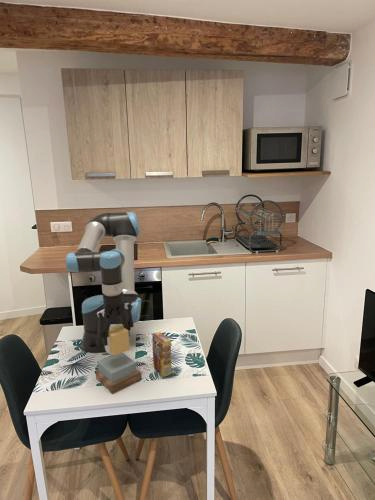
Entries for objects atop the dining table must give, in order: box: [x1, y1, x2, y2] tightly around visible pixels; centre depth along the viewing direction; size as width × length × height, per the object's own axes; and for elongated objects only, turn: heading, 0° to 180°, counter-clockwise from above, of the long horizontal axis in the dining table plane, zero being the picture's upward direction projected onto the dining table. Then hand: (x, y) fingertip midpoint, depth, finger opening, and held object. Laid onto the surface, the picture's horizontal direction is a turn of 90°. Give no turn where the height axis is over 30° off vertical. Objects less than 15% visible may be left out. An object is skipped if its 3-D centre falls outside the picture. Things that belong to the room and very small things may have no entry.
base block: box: [95, 369, 142, 395], centre depth 140 cm, size 13×13×4 cm
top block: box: [97, 352, 137, 383], centre depth 139 cm, size 11×11×4 cm
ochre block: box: [105, 324, 131, 356], centre depth 137 cm, size 7×7×8 cm
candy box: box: [151, 331, 172, 378], centre depth 144 cm, size 9×4×15 cm, turn 32°
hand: (117, 348), depth 138 cm, fingers closed on ochre block, 7 cm apart
